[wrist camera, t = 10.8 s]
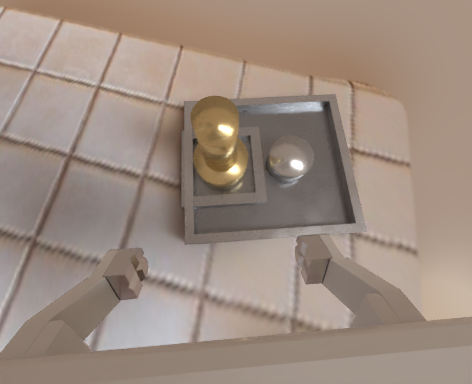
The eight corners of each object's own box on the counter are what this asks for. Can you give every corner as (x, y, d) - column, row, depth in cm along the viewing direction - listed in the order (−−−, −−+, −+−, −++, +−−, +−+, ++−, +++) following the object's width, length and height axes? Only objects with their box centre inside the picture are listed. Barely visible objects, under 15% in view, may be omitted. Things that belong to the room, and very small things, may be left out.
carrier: (185, 244, 23) (177, 245, 19) (185, 112, 27) (178, 93, 24) (354, 232, 23) (376, 231, 20) (327, 105, 28) (340, 86, 24)
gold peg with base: (198, 191, 23) (173, 156, 13) (197, 146, 25) (174, 84, 15) (248, 188, 23) (259, 151, 14) (244, 143, 25) (251, 81, 15)
